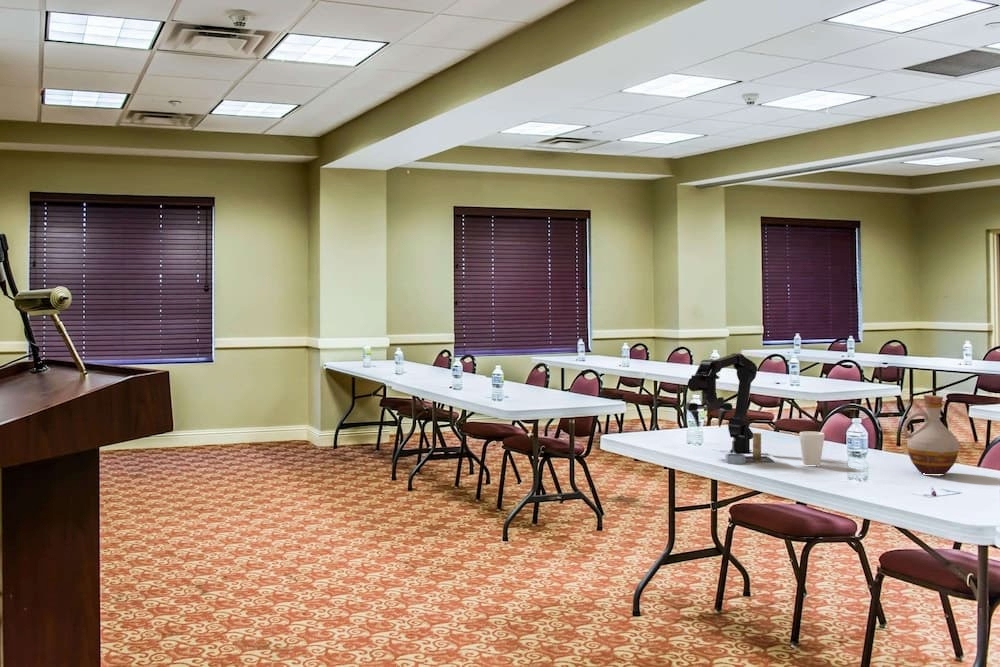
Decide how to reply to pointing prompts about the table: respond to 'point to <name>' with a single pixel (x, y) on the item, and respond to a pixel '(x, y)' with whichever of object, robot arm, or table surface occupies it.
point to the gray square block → (735, 458)
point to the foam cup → (811, 447)
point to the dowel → (756, 446)
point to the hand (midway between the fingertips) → (708, 426)
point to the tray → (763, 460)
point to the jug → (931, 440)
